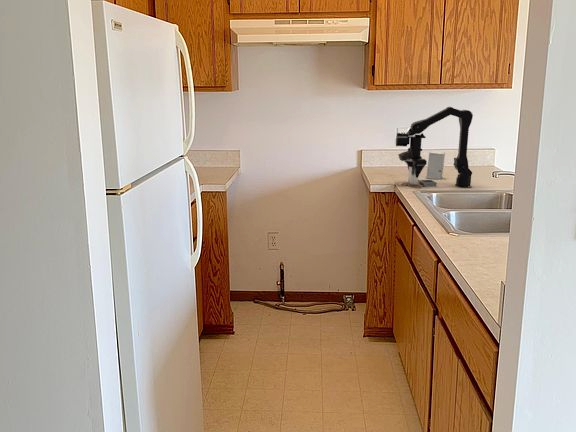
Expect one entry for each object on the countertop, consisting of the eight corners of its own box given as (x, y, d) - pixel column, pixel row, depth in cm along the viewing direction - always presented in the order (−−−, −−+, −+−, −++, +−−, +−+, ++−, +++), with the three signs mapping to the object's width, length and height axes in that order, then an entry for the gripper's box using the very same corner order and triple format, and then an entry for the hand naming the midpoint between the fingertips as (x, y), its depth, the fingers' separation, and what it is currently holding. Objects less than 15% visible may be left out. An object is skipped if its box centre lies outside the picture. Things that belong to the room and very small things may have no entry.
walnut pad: (416, 183, 303) (416, 182, 303) (421, 186, 296) (421, 184, 296) (404, 183, 302) (404, 182, 302) (408, 186, 295) (408, 185, 295)
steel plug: (415, 182, 301) (416, 166, 299) (417, 184, 297) (419, 167, 295) (408, 183, 300) (409, 166, 298) (410, 184, 297) (411, 167, 294)
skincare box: (426, 178, 319) (428, 152, 315) (428, 176, 324) (430, 151, 320) (441, 179, 315) (443, 153, 312) (443, 178, 321) (445, 152, 317)
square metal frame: (430, 183, 305) (430, 179, 304) (436, 186, 297) (436, 182, 296) (417, 183, 304) (418, 179, 303) (423, 186, 296) (423, 182, 295)
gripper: (394, 144, 302) (393, 173, 306) (407, 149, 284) (405, 179, 288) (414, 144, 303) (412, 172, 307) (428, 148, 285) (425, 179, 289)
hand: (413, 175), depth 298 cm, fingers open, 9 cm apart
